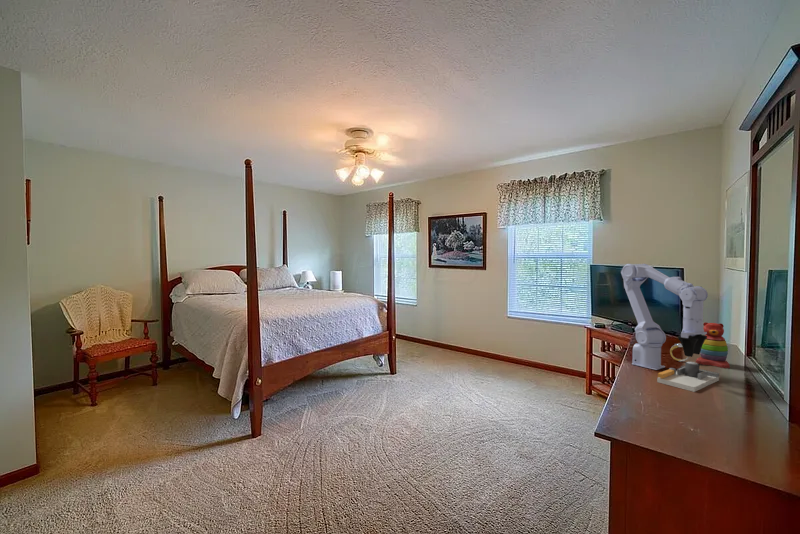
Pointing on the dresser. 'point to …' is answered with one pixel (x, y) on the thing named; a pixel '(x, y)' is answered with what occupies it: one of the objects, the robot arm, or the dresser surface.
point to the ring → (674, 348)
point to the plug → (691, 369)
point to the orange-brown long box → (667, 373)
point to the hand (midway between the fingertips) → (692, 354)
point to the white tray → (690, 379)
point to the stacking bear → (714, 347)
